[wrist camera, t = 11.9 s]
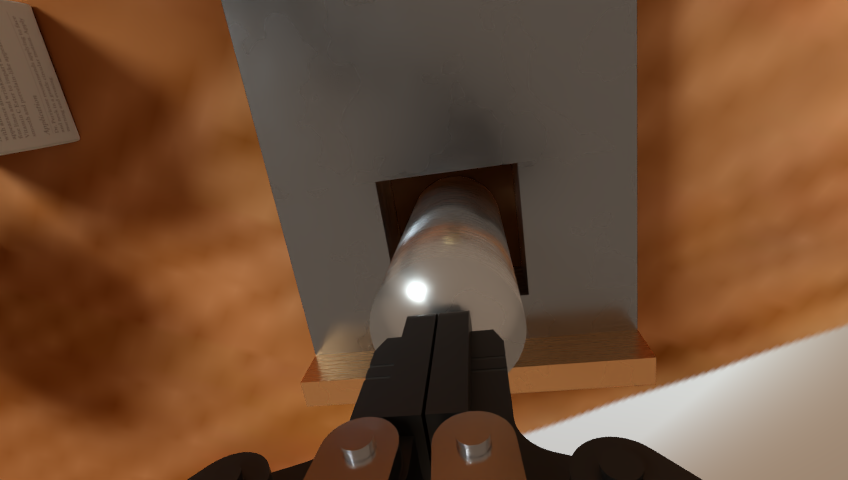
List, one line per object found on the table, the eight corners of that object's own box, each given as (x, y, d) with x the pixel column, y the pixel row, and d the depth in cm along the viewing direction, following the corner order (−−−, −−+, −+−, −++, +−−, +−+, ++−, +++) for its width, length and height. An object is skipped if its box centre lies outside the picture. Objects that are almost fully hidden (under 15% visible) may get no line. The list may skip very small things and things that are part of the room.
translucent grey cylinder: (407, 182, 20) (355, 267, 11) (495, 170, 20) (519, 248, 11) (420, 263, 22) (384, 400, 12) (503, 254, 21) (532, 390, 12)
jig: (257, 9, 19) (186, -15, 14) (608, -60, 17) (662, -115, 12) (339, 342, 24) (307, 406, 19) (615, 318, 22) (655, 384, 17)
